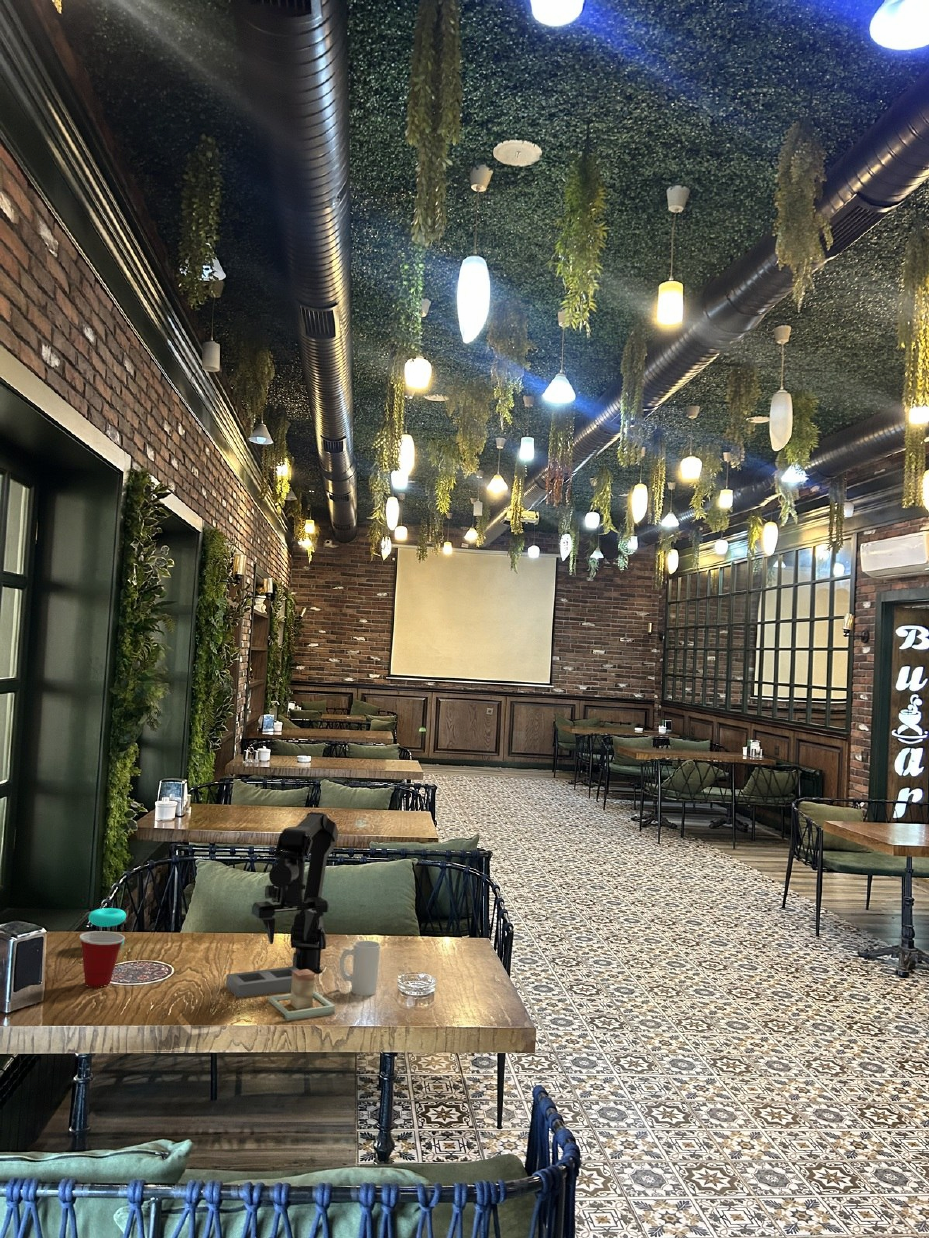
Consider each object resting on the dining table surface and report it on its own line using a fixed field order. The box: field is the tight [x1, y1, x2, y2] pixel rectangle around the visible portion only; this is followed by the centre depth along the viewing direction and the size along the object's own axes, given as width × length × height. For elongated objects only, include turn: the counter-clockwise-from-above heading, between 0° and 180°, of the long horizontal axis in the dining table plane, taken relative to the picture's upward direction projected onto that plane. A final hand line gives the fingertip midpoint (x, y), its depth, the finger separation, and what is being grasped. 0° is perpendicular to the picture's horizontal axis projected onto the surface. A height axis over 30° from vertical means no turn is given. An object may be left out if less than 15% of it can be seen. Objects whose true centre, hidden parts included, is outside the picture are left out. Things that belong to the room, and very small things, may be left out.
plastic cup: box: [79, 930, 126, 988], centre depth 233 cm, size 11×11×12 cm
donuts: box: [88, 907, 127, 947], centre depth 265 cm, size 10×10×10 cm
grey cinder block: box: [225, 965, 299, 999], centre depth 235 cm, size 18×9×4 cm, turn 122°
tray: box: [267, 990, 336, 1022], centre depth 224 cm, size 12×12×2 cm
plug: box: [289, 969, 316, 1010], centre depth 224 cm, size 4×4×8 cm
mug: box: [339, 940, 381, 997], centre depth 239 cm, size 10×7×12 cm, turn 97°
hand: (288, 941), depth 236 cm, fingers open, 9 cm apart
